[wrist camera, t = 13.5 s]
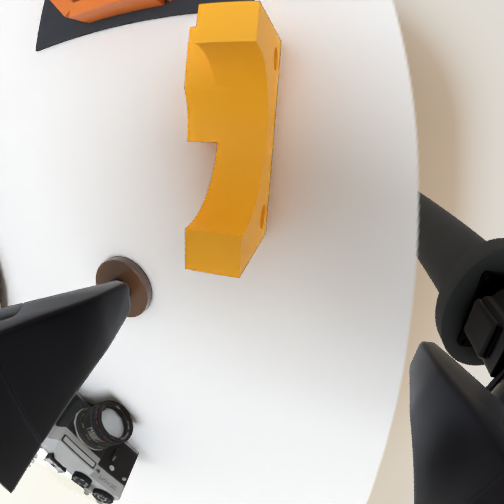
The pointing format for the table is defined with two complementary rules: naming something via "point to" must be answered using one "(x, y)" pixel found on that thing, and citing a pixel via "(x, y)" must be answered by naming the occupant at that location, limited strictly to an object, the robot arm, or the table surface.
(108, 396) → the table surface
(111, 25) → the mat
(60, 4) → the ring
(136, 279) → the stake
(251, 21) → the pipe clamp
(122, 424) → the camera
